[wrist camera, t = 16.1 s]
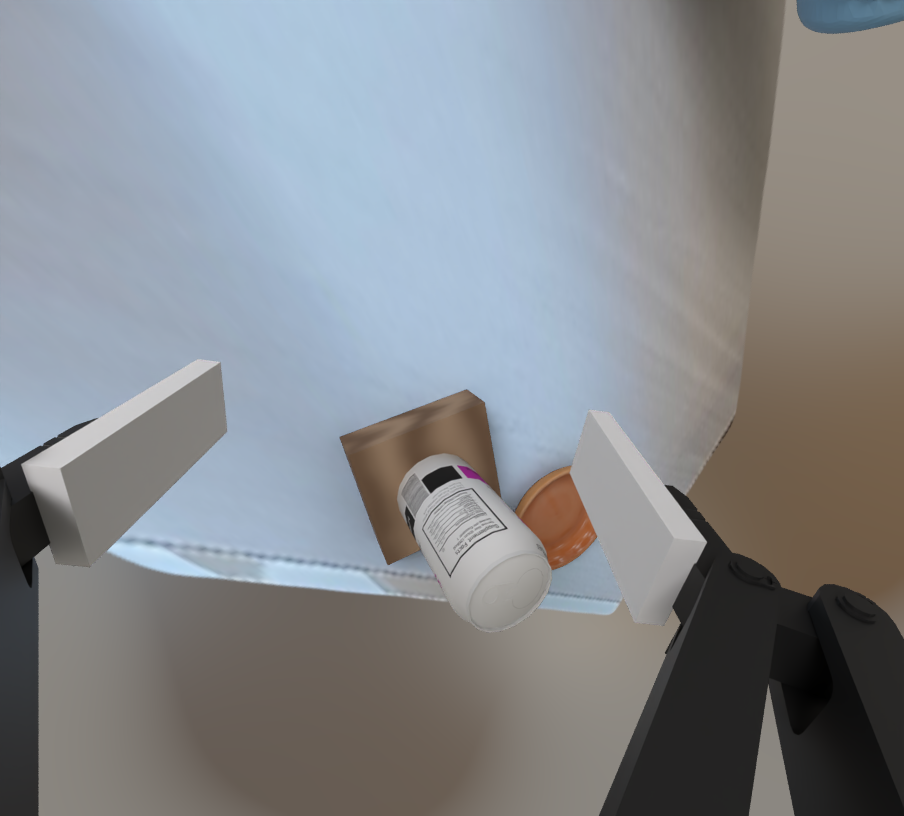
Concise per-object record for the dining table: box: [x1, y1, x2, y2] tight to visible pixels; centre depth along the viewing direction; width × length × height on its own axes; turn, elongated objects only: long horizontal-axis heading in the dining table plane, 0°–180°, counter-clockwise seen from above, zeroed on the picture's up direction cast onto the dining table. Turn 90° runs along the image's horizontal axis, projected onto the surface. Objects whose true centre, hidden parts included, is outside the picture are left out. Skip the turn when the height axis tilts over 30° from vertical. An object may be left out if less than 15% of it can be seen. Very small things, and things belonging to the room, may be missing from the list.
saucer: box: [515, 466, 597, 570], centre depth 57 cm, size 16×16×3 cm
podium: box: [340, 390, 501, 565], centre depth 45 cm, size 14×14×4 cm
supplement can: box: [397, 453, 552, 633], centre depth 37 cm, size 8×8×15 cm
